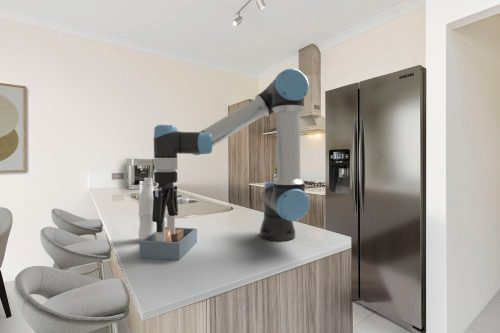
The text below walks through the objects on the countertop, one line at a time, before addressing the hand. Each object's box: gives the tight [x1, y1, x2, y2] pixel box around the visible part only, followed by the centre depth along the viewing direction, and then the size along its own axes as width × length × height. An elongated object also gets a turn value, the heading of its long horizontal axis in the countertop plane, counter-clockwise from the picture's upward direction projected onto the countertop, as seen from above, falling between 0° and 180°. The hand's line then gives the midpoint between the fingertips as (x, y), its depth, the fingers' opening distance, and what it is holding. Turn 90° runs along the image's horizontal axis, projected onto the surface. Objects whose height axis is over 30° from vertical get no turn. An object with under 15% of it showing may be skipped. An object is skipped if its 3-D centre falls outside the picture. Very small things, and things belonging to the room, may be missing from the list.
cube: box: [171, 229, 183, 242], centre depth 95 cm, size 5×5×5 cm
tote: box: [138, 226, 198, 261], centre depth 90 cm, size 14×18×6 cm
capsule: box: [155, 229, 172, 242], centre depth 86 cm, size 5×5×7 cm
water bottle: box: [138, 177, 156, 241], centre depth 100 cm, size 7×7×25 cm
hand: (166, 237), depth 87 cm, fingers open, 7 cm apart
